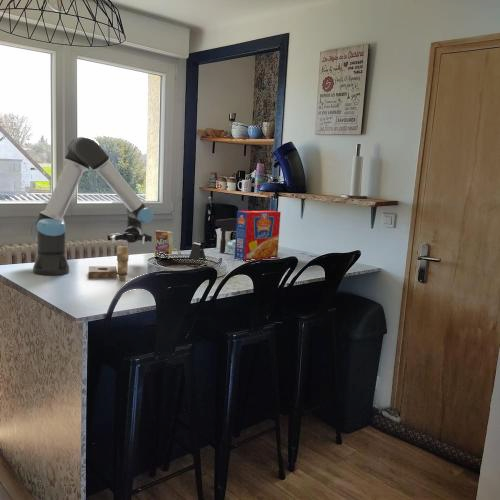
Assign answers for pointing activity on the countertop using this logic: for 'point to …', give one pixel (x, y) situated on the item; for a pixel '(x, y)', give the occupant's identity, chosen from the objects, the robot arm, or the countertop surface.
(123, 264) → the leg
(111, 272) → the board
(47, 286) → the countertop surface
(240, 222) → the pasta box
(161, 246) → the candy box
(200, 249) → the door stopper
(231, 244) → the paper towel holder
